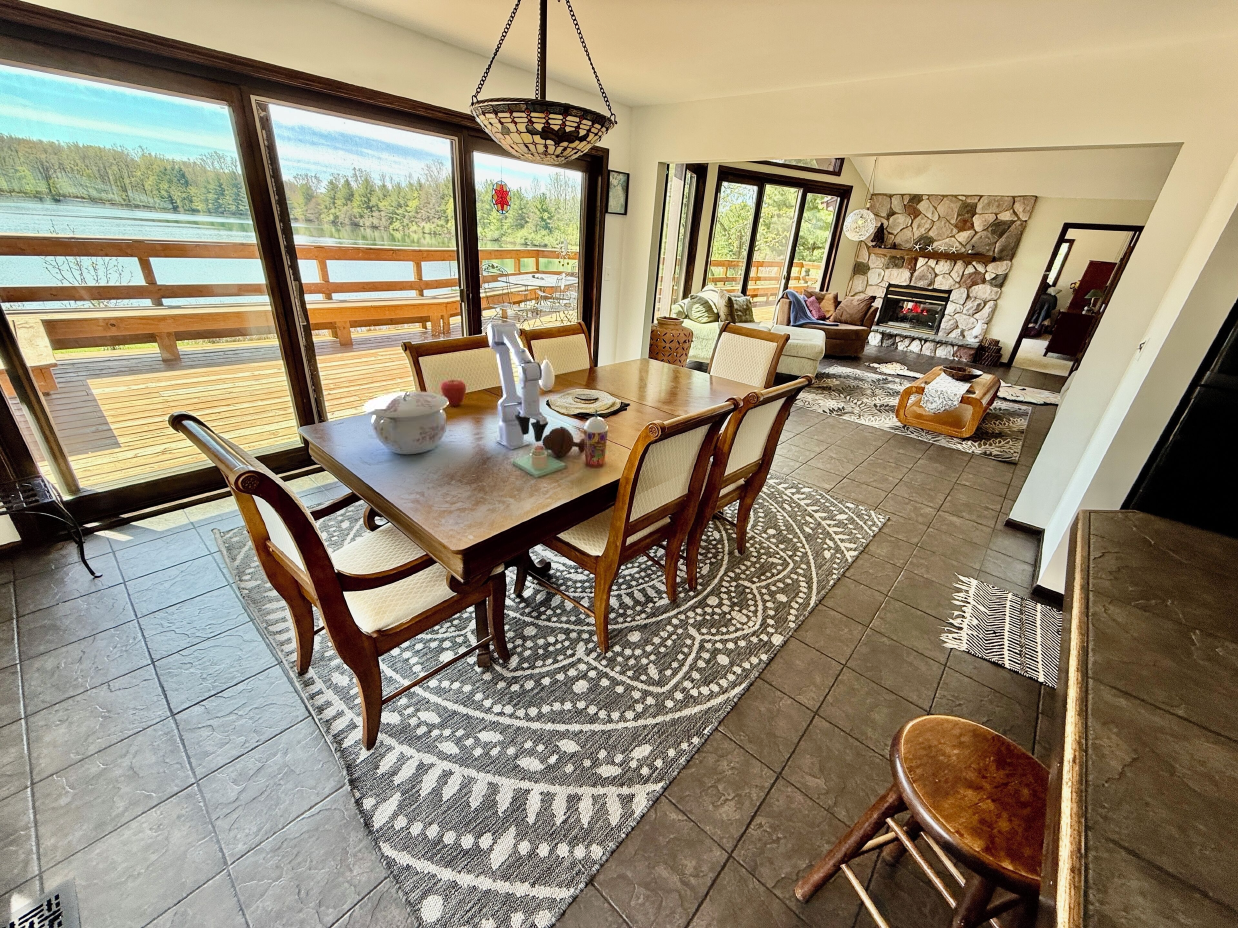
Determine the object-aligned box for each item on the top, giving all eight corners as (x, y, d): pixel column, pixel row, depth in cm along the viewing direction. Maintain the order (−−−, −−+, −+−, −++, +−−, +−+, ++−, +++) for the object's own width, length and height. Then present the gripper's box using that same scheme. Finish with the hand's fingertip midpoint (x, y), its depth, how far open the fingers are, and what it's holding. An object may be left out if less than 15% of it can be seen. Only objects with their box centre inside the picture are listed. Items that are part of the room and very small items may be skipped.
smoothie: (597, 471, 163) (599, 415, 155) (578, 464, 167) (578, 410, 159) (611, 462, 170) (613, 409, 161) (591, 456, 174) (593, 404, 165)
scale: (511, 463, 166) (511, 455, 165) (541, 453, 174) (541, 446, 173) (536, 477, 157) (536, 469, 156) (566, 467, 165) (566, 459, 164)
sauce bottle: (537, 391, 241) (536, 356, 234) (541, 387, 248) (541, 352, 241) (552, 393, 240) (551, 357, 233) (556, 389, 247) (556, 354, 239)
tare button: (533, 451, 169) (533, 447, 168) (540, 449, 171) (540, 445, 170) (538, 454, 167) (538, 449, 167) (545, 452, 169) (545, 447, 168)
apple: (463, 409, 213) (460, 383, 207) (439, 408, 213) (435, 381, 207) (470, 401, 223) (468, 376, 217) (447, 400, 223) (444, 375, 217)
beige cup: (527, 466, 161) (527, 452, 159) (541, 461, 165) (540, 448, 163) (537, 471, 158) (536, 458, 156) (550, 467, 161) (550, 453, 159)
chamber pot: (431, 427, 192) (425, 377, 183) (467, 448, 175) (462, 394, 166) (358, 445, 173) (346, 389, 164) (390, 471, 157) (379, 410, 148)
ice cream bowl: (583, 464, 173) (544, 459, 166) (573, 452, 182) (536, 446, 175) (592, 438, 170) (552, 430, 162) (581, 427, 179) (544, 419, 171)
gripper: (507, 396, 160) (509, 433, 165) (533, 407, 150) (534, 447, 156) (525, 392, 164) (527, 429, 170) (551, 403, 155) (552, 442, 161)
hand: (531, 437), depth 163 cm, fingers open, 7 cm apart
